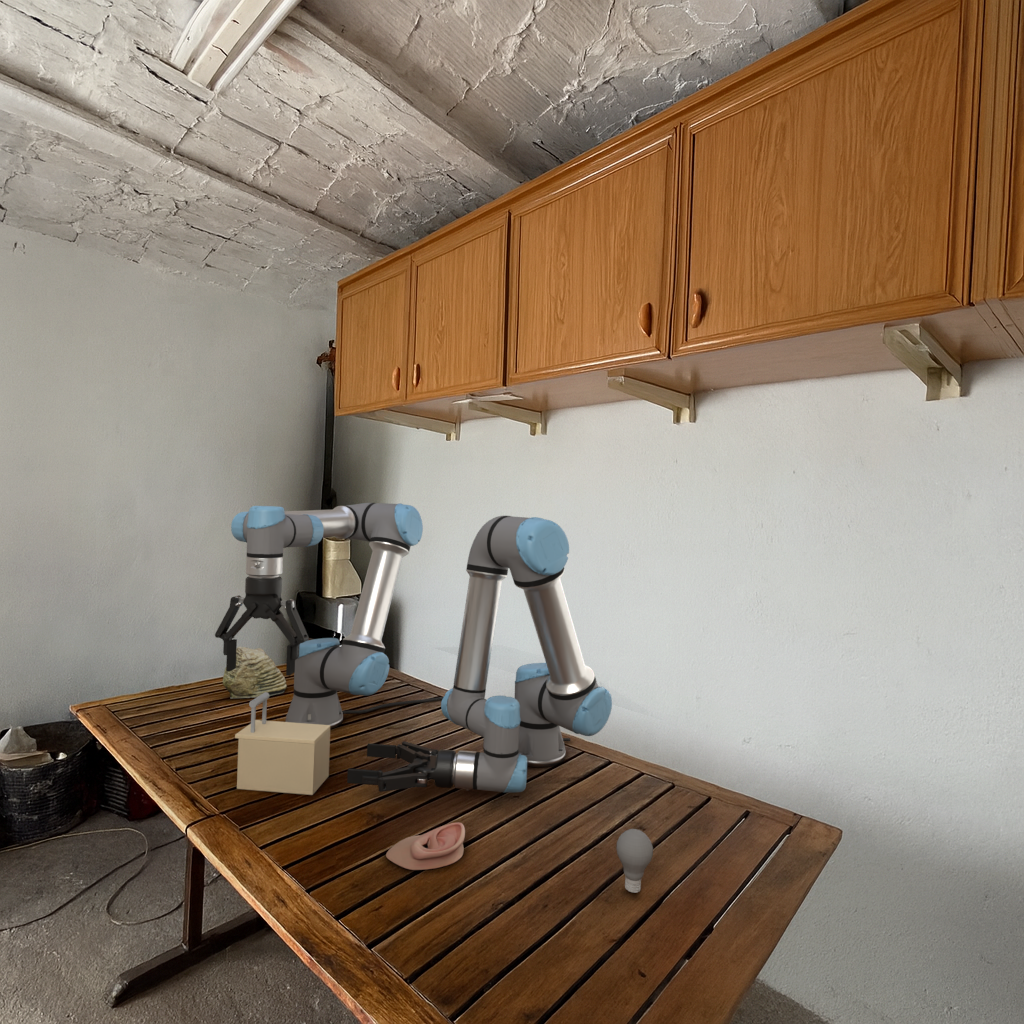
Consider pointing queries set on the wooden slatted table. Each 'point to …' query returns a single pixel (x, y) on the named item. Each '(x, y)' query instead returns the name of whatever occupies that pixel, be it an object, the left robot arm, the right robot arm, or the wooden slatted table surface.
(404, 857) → the anatomical model
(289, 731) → the lid
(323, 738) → the chest
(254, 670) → the fossil
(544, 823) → the wooden slatted table surface
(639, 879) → the light bulb
